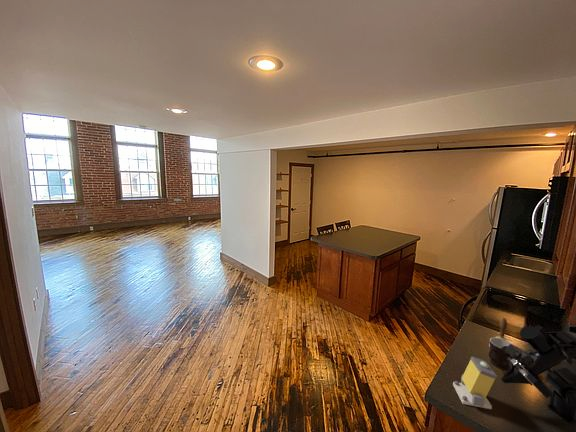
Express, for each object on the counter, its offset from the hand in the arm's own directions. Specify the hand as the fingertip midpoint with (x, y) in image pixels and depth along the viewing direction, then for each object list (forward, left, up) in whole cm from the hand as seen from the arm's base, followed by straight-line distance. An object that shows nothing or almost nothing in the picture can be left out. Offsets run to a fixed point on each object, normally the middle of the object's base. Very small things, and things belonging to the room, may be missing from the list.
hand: (502, 381), depth 91 cm
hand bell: (+24, -30, -9) cm, 39 cm away
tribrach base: (+4, +8, -8) cm, 12 cm away
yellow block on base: (+4, +8, -6) cm, 11 cm away
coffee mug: (+16, -18, -8) cm, 25 cm away
